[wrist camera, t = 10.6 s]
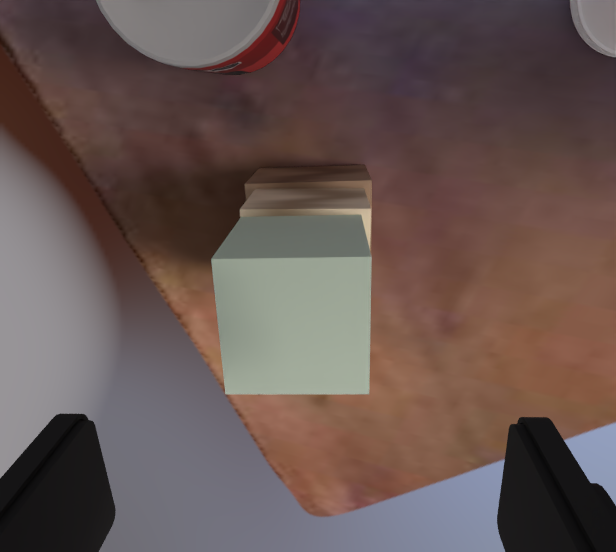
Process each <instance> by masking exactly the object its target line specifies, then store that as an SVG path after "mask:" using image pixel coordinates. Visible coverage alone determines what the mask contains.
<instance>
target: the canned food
mask: <svg viewBox="0 0 616 552" xmlns="http://www.w3.org/2000/svg"><path fill="white" fill-rule="evenodd" d="M96 2H97V4H98V6H99V8H100V10H101V12H102V14H103V15H104V16H105V18H106V19H107V21H108V22H109V24H110V25H111V27H112V28H113V29H114V30H115V31H116V32H117V33H118V34H119V35H120V36H121V37H122V39H123V40H124V41H125V42H126V43H128V44H129V45H131V46H132V47H133V48H135V49H136V50H138V51H139V52H140V53H142V54H144V55H146V56H147V57H149V58H152V59H154V60H156V61H158V62H160V63H163V64H166V65H171V66H175V67H179V68H184V69H188V70H196V71H203V72H211V73H219V74H227V75H240V74H245V73H250V72H253V71H256V70H258V69H260V68H263V67H264V66H266V65H267V64H269V63H270V62H272V61H273V60H274V59H275V58H276V57H277V56H278V55H279V54H280V53H281V52H282V51H283V50H284V48H285V47H286V45H287V44H288V42H289V41H290V39H291V37H292V35H293V33H294V30H295V28H296V25H297V21H298V17H299V12H300V0H96Z"/></svg>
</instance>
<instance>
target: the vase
mask: <svg viewBox="0 0 616 552" xmlns="http://www.w3.org/2000/svg"><path fill="white" fill-rule="evenodd" d="M570 9H571V15H572V19H573V22H574V25H575V28H576V29H577V31H578V33H579V35H580V36H581V38H582V39H583V40H584V41H585V42H586V43H587V44H588V45H589V46H590V47H591V48H593V49H594V50H596V51H597V52H599V53H601V54H604V55H607V56H611V57H616V0H570Z"/></svg>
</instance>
